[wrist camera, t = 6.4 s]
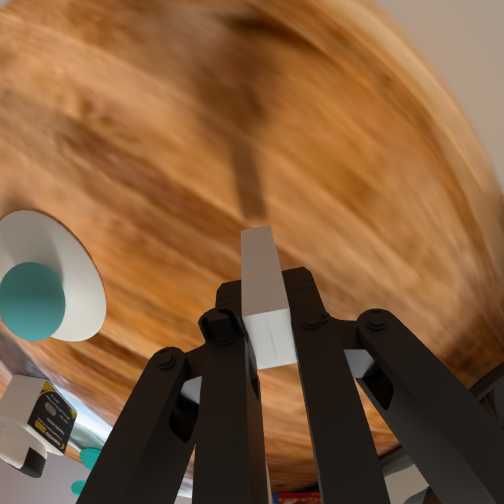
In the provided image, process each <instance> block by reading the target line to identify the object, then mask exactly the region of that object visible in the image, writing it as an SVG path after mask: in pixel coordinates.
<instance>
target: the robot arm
mask: <svg viewBox="0 0 504 504" xmlns="http://www.w3.org/2000/svg"><path fill="white" fill-rule="evenodd" d="M198 325H199V327H200V329H201V332H202V334H203V336H204V338H205V341H206V342H205V344H203V345H202V346H200V347H198V348H196V349H194V350H191V351H189V352H186V353H184V352H183V351H182V350H181V349H180V348H176V347H166V348H163V349H161V350H159V351H158V352H156V353H155V354H154V355H153V356H152V357H151V359H150V360H149V362H148V364H147V366H146V367H145V369H144V371H143V373H142V375H141V376H140V378H139V380H138V382H137V384H136V386H135V387H134V389H133V391H132V393H131V395H130V397H129V399H128V400H127V402H126V404H125V406H124V408H123V410H122V412H121V414H120V415H119V417H118V419H117V421H116V423H115V425H114V427H113V429H112V431H111V433H110V435H109V437H108V439H107V441H106V442H105V444H104V446H103V448H102V450H101V452H100V454H99V456H98V458H97V460H96V462H95V464H94V466H93V468H92V470H91V473H90V475H89V477H88V479H87V481H86V483H85V485H84V487H83V489H82V491H81V493H80V495H79V498H78V500H77V502H76V504H174V502H175V499H176V497H177V494H178V491H179V488H180V486H181V483H182V480H183V477H184V474H185V472H186V469H187V466H188V463H189V460H190V458H191V455H192V452H193V449H194V446H195V444H196V446H195V459H194V474H193V491H192V504H269V499H268V486H267V472H266V459H265V446H264V432H263V419H262V405H261V392H260V381H259V378H258V375H257V367H258V369H265V368H271V367H277V366H282V365H288V364H293V363H298V369H299V375H300V382H301V386H302V391H303V396H304V402H305V407H306V413H307V419H308V424H309V430H310V436H311V441H312V447H313V453H314V459H315V465H316V471H317V477H318V484H319V490H320V496H321V503H322V504H390V499H389V495H388V492H387V488H386V484H385V480H384V476H383V473H382V469H381V465H380V462H379V458H378V455H377V451H376V448H375V445H374V441H373V438H372V435H371V431H370V428H369V425H368V421H367V418H366V415H365V412H364V409H363V406H362V403H361V400H360V396H359V393H358V390H357V387H356V384H355V381H354V378H355V379H356V381H357V382H358V384H359V385H360V387H361V388H362V389H363V391H364V392H365V394H366V395H367V397H368V398H369V399H370V401H371V402H372V404H373V405H374V406H375V408H376V409H377V411H378V412H379V414H380V415H381V416H382V418H383V419H384V421H385V422H386V424H387V425H388V426H389V428H390V429H391V431H392V432H393V434H394V435H395V436H396V438H397V439H398V441H399V442H400V444H401V445H402V447H403V448H404V449H405V451H406V452H407V454H408V455H409V457H410V458H411V460H412V461H413V462H414V464H415V465H416V467H417V468H418V469H419V471H420V472H421V474H422V475H423V477H424V478H425V480H426V481H427V483H428V484H429V487H427V488H426V489H425V490H423V491H421V492H419V493H417V494H415V495H413V496H411V497H409V498H408V499H407V500H406V501H405V502H404V504H504V364H502V365H501V366H499V367H498V368H496V369H495V370H494V371H492V372H491V373H490V374H488V375H487V376H486V377H485V378H483V379H482V380H481V381H480V382H479V383H478V384H476V385H475V386H474V387H473V388H472V389H471V390H470V391H468V390H467V389H466V388H465V386H464V385H463V384H462V383H461V382H460V381H459V380H458V379H457V378H456V377H455V376H454V375H453V374H452V373H451V372H450V371H449V370H448V368H447V367H446V366H445V365H444V364H443V363H442V362H441V361H440V360H439V359H438V358H437V357H436V356H435V355H434V354H433V353H432V352H431V351H430V350H429V349H428V348H427V347H426V346H425V345H424V344H423V343H422V342H421V341H420V340H419V339H418V338H417V337H416V336H415V335H414V334H413V333H412V332H411V331H410V330H409V329H408V328H407V327H406V326H405V325H404V324H403V323H402V322H401V321H400V320H399V319H398V318H396V317H395V316H394V315H393V314H392V313H390V312H389V311H387V310H384V309H370V310H367V311H365V312H363V313H362V314H360V316H359V317H358V319H357V321H346V320H339V319H335V318H333V317H331V316H330V315H329V313H327V312H326V310H325V308H324V305H323V303H322V300H321V297H320V295H319V292H318V289H317V287H316V284H315V282H314V279H313V276H312V274H311V272H310V271H309V270H307V269H306V268H305V267H299V268H294V269H289V270H284V271H281V268H280V264H279V260H278V255H277V251H276V247H275V243H274V238H273V234H272V230H271V226H270V225H267V226H262V227H257V228H252V229H247V230H242V231H241V280H237V281H231V282H226V283H222V284H221V286H220V287H219V289H218V290H217V294H216V303H215V308H213V309H210V310H209V311H207V312H205V313H204V314H203V315H202V316H201V317H200V319H199V321H198Z"/></svg>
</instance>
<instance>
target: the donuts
mask: <svg viewBox="0 0 504 504" xmlns="http://www.w3.org/2000/svg"><path fill="white" fill-rule="evenodd" d="M100 452H101V450H99V449H94V448H86V449H83V450H82V451H81V452H80V460H81V462H82V463H83V464H84V465H85V467H87V468H88V469H89V470H92V468H93V466H94V464H95V462H96V460H97V458H98V456H99V454H100ZM85 483H86V481H76V482H74V483H73V484H72V486H71V489H72V492H73V493H74V494H75V495H76V496H77V497H79V495H80V493H81V491H82V489H83V487H84V485H85Z"/></svg>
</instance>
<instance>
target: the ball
mask: <svg viewBox="0 0 504 504" xmlns="http://www.w3.org/2000/svg"><path fill="white" fill-rule="evenodd" d="M65 308H66V300H65V294H64V290H63V287H62V285H61V283H60V281H59V279H58V278H57V277H56V275H55V274H54V273H53V272H52V271H51V270H50V269H48V268H47V267H45V266H43V265H41V264H38V263H34V262H25V263H20V264H18V265H16V266H14V267H12V268H11V269H10V270H9V271H8V272H7V273H6V274H5V276H4V277H3V279H2V281H1V283H0V315H1V318H2V320H3V322H4V323H5V325H6V326H7V327H8V329H9V330H10V331H11V332H12V333H14V334H15V335H16V336H18V337H20V338H22V339H25V340H28V341H39V340H43V339H46V338H48V337H50V336H51V335H52V334H54V333H55V332H56V330H57V329H58V328H59V326H60V325H61V323H62V321H63V318H64V315H65Z"/></svg>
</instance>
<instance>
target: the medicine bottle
mask: <svg viewBox="0 0 504 504" xmlns="http://www.w3.org/2000/svg"><path fill="white" fill-rule="evenodd" d="M76 417H77V411H76V410H75V409H74V408H73V407H72V406H71V405H70V404H69V403H68V402H67V401H66V400H65V399H64V398H63V396H62V395H61V394H60V393H59V392H58V391H57V390H56V388H55V387H54V386H53V385H52V384H51V382H50V381H49V380H48V379H43V378H36V377H30V376H24V375H19V374H15V375H14V376H13V378H12V380H11V382H10V383H9V385H8V387H7V389H6V391H5V393H4V395H3V397H2V399H1V401H0V420H1V421H2V422H3V423H4V424H5V425H6V426H7V428H6V427H5V428H4V429H3V431H2V434H1V436H0V457H1V458H2V459H3V460H4V461H5V462H7V463H8V464H9V465H11V466H12V467H14V468H15V469H17V470H19V471H21V472H22V473H24V474H26V475H28V476H31V477H34V478H39V477H41V475H42V471H43V468H44V465H45V461H46V458H47V453H46V451H48V452H51V453H54V454H57V455H60V456H63V455H64V453H65V450H66V446H67V443H68V440H69V437H70V434H71V431H72V428H73V425H74V422H75V419H76Z"/></svg>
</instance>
